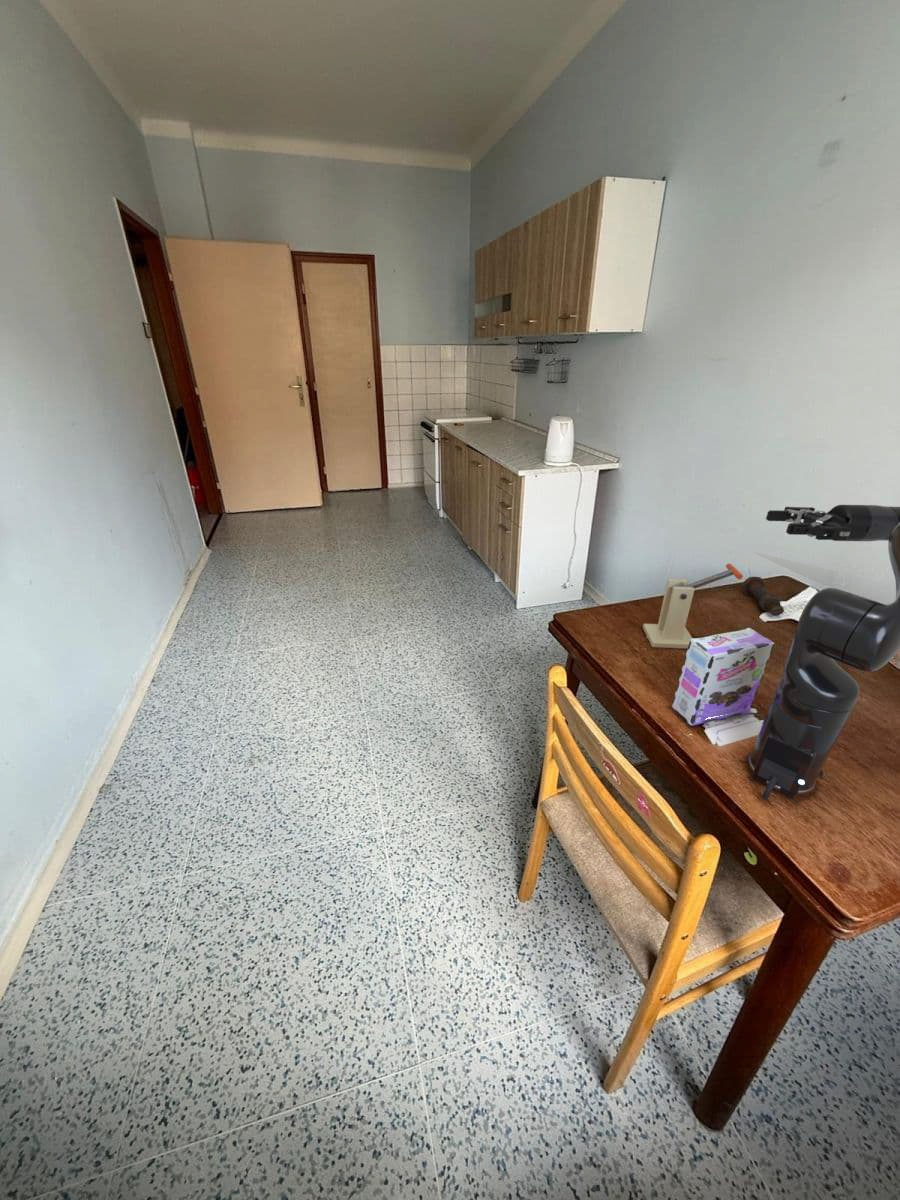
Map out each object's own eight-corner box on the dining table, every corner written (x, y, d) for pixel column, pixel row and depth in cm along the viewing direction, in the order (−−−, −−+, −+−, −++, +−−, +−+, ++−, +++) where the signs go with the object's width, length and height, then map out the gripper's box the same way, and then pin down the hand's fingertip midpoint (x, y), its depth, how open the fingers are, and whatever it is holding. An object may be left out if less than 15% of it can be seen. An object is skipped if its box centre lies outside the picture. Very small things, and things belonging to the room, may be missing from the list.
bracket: (683, 629, 119) (696, 576, 112) (695, 649, 111) (711, 593, 104) (642, 627, 120) (653, 575, 113) (652, 647, 112) (664, 592, 105)
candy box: (690, 727, 89) (712, 655, 81) (670, 707, 94) (688, 637, 86) (750, 713, 92) (777, 642, 84) (727, 694, 97) (750, 625, 89)
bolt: (770, 623, 124) (745, 595, 137) (791, 616, 122) (763, 588, 135) (764, 607, 122) (739, 580, 134) (785, 599, 120) (758, 572, 133)
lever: (732, 569, 109) (730, 560, 108) (744, 580, 104) (741, 571, 103) (670, 591, 113) (667, 583, 112) (678, 603, 108) (676, 594, 107)
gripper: (844, 496, 103) (766, 495, 104) (891, 516, 90) (802, 515, 92) (832, 528, 106) (756, 527, 108) (875, 552, 94) (789, 551, 95)
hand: (777, 522), depth 100 cm, fingers open, 8 cm apart
